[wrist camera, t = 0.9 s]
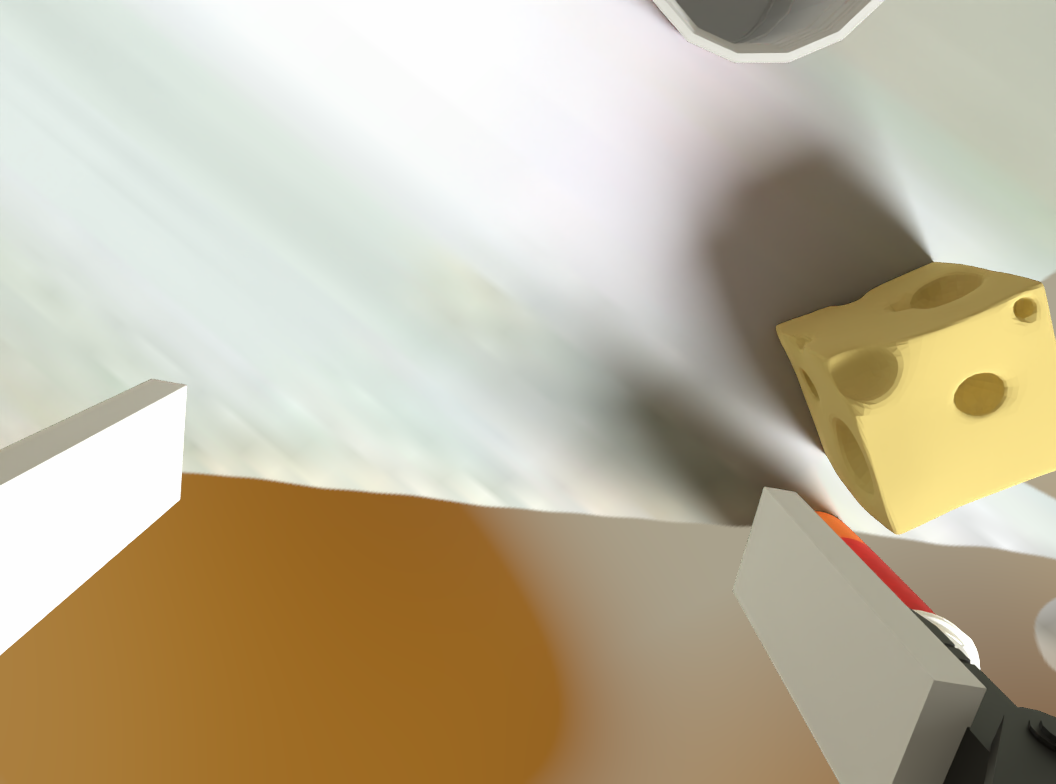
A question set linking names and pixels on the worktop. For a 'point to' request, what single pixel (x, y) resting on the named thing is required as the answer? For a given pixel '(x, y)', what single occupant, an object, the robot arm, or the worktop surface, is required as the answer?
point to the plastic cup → (765, 26)
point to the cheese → (931, 389)
